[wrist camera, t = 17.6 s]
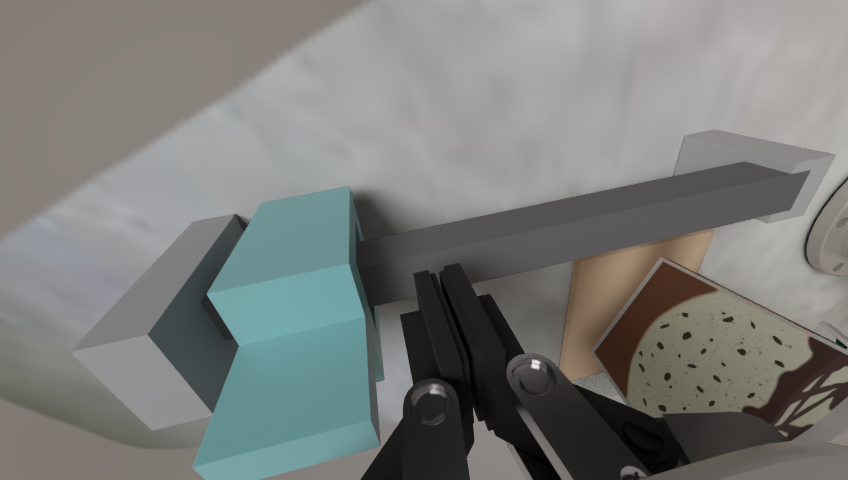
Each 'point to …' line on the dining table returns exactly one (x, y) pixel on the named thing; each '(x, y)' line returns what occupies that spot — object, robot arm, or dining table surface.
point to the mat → (615, 292)
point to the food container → (723, 357)
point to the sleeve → (295, 343)
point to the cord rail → (431, 262)
